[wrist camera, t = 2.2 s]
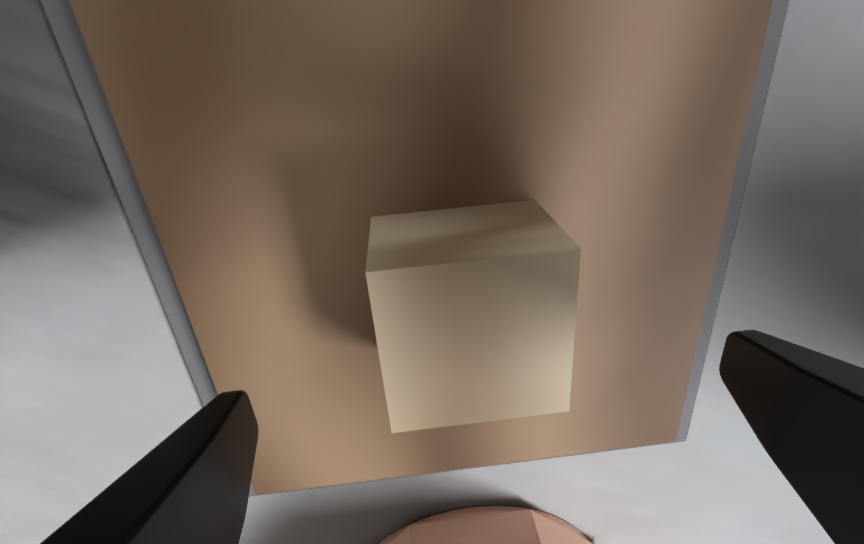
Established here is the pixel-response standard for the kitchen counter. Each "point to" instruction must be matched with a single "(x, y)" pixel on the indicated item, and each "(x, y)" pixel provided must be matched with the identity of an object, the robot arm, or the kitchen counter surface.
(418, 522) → the bowl
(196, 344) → the mat
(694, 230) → the cover
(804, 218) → the kitchen counter surface
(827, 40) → the kitchen counter surface
